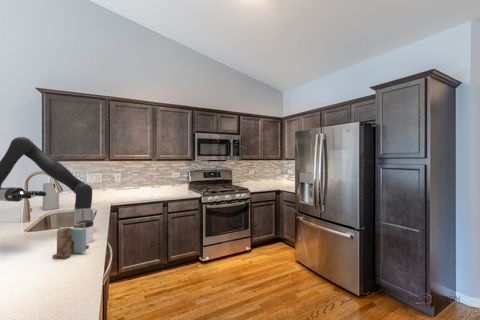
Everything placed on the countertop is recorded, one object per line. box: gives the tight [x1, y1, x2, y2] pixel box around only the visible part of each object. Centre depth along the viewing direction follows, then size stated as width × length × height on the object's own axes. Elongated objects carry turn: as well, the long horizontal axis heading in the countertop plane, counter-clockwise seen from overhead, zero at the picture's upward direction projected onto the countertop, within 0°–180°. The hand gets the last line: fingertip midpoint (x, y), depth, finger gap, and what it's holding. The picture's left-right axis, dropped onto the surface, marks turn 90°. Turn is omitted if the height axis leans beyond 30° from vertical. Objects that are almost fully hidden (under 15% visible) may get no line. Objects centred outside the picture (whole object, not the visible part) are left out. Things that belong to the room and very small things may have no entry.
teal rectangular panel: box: [57, 226, 87, 254], centre depth 127 cm, size 14×2×12 cm, turn 84°
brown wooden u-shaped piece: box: [51, 223, 90, 260], centre depth 127 cm, size 16×7×14 cm, turn 174°
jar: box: [77, 219, 94, 244], centre depth 145 cm, size 9×8×12 cm
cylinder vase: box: [42, 182, 60, 211], centre depth 235 cm, size 12×12×25 cm
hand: (38, 195), depth 130 cm, fingers open, 8 cm apart
